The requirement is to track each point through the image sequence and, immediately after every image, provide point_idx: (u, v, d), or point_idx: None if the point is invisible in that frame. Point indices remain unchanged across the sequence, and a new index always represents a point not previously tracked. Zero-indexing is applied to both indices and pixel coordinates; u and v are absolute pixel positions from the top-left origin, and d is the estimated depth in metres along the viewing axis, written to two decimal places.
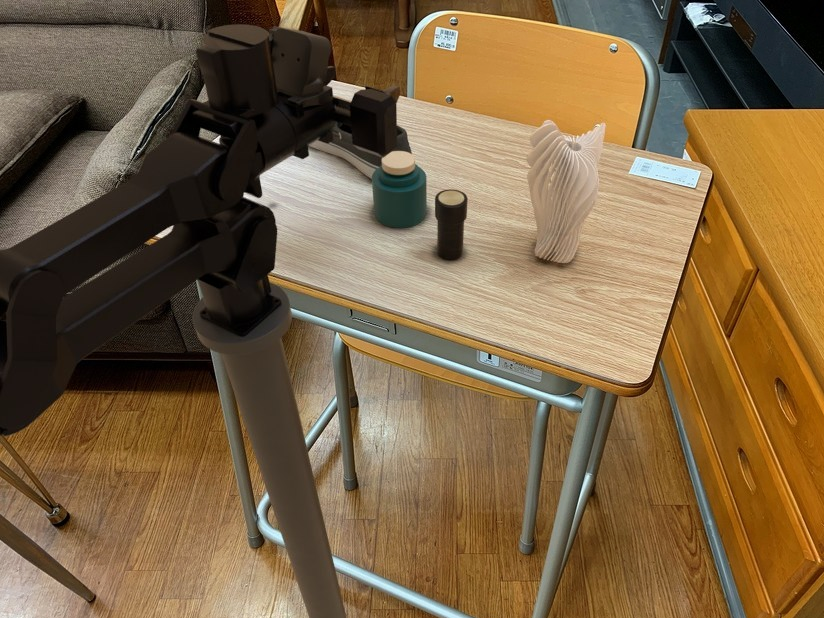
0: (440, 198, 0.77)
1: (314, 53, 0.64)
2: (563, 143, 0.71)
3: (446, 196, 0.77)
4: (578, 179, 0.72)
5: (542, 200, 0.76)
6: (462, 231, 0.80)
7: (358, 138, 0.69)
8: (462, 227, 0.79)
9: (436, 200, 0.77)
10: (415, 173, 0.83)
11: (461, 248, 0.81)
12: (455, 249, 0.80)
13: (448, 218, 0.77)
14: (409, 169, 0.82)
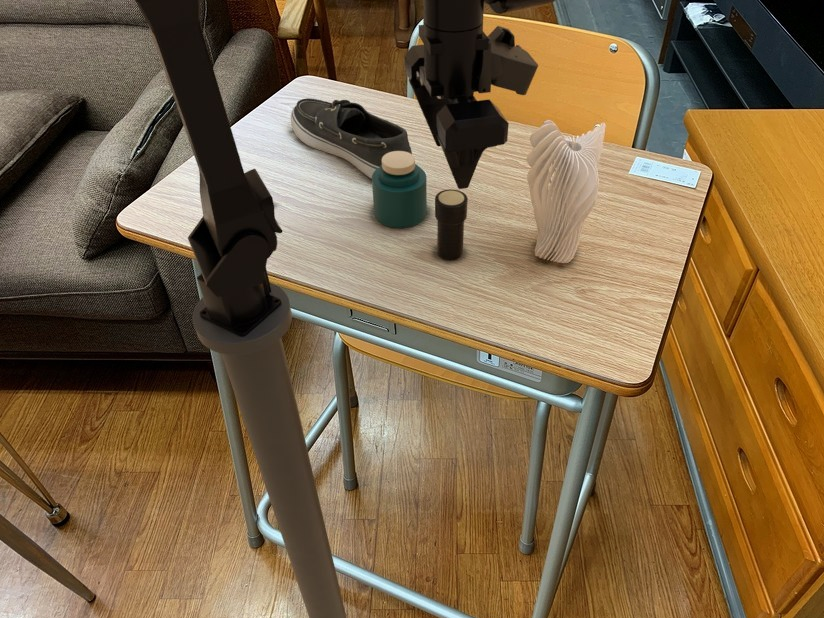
0: (440, 198, 0.77)
1: (526, 69, 0.66)
2: (563, 143, 0.71)
3: (446, 196, 0.77)
4: (578, 179, 0.72)
5: (542, 200, 0.76)
6: (462, 231, 0.80)
7: (457, 107, 0.62)
8: (462, 227, 0.79)
9: (436, 200, 0.77)
10: (415, 173, 0.83)
11: (461, 248, 0.81)
12: (455, 249, 0.80)
13: (448, 218, 0.77)
14: (409, 169, 0.82)
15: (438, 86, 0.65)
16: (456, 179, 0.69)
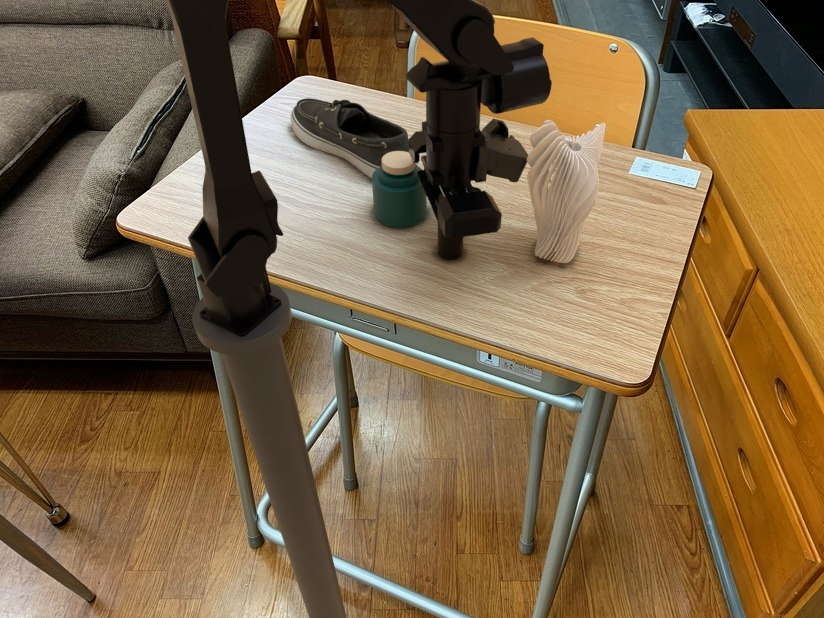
0: (440, 198, 0.77)
1: (518, 161, 0.73)
2: (563, 143, 0.71)
3: None
4: (578, 179, 0.72)
5: (542, 200, 0.76)
6: None
7: (456, 199, 0.70)
8: None
9: (436, 200, 0.77)
10: (415, 173, 0.83)
11: (461, 248, 0.81)
12: (455, 249, 0.80)
13: None
14: (409, 169, 0.82)
15: (439, 177, 0.72)
16: (448, 242, 0.78)
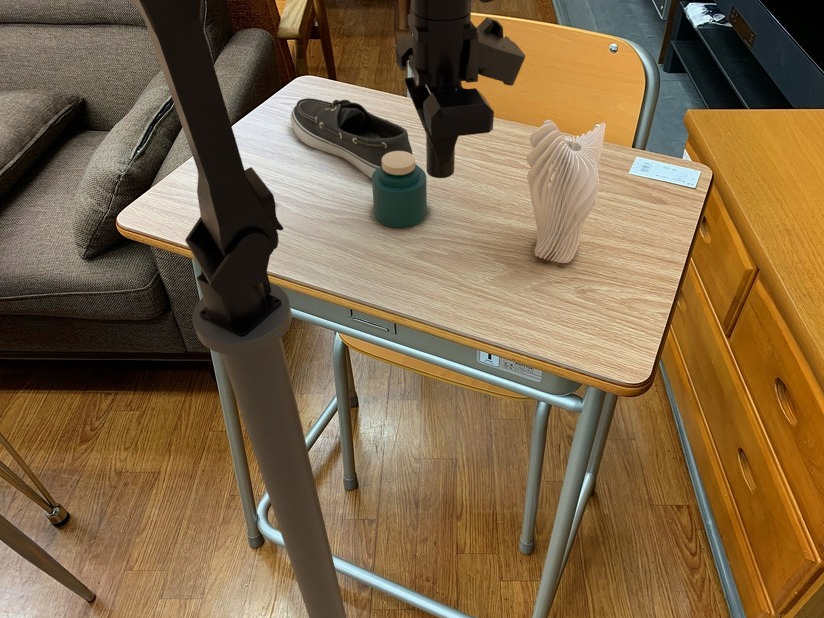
0: None
1: (513, 60, 0.67)
2: (563, 143, 0.71)
3: None
4: (578, 179, 0.72)
5: (542, 200, 0.76)
6: None
7: (444, 95, 0.63)
8: None
9: None
10: (415, 173, 0.83)
11: (452, 165, 0.75)
12: (445, 164, 0.74)
13: None
14: (409, 169, 0.82)
15: (426, 74, 0.66)
16: (437, 154, 0.72)
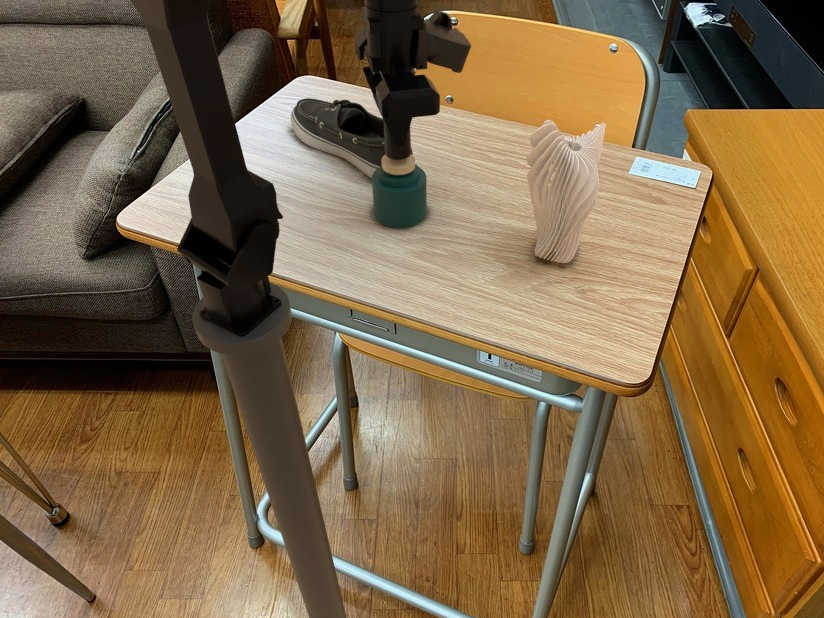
0: None
1: (459, 49, 0.73)
2: (563, 143, 0.71)
3: None
4: (578, 179, 0.72)
5: (542, 200, 0.76)
6: None
7: (394, 80, 0.69)
8: None
9: None
10: (415, 173, 0.83)
11: (408, 148, 0.81)
12: (401, 147, 0.80)
13: None
14: (409, 169, 0.82)
15: (379, 62, 0.71)
16: (393, 137, 0.78)
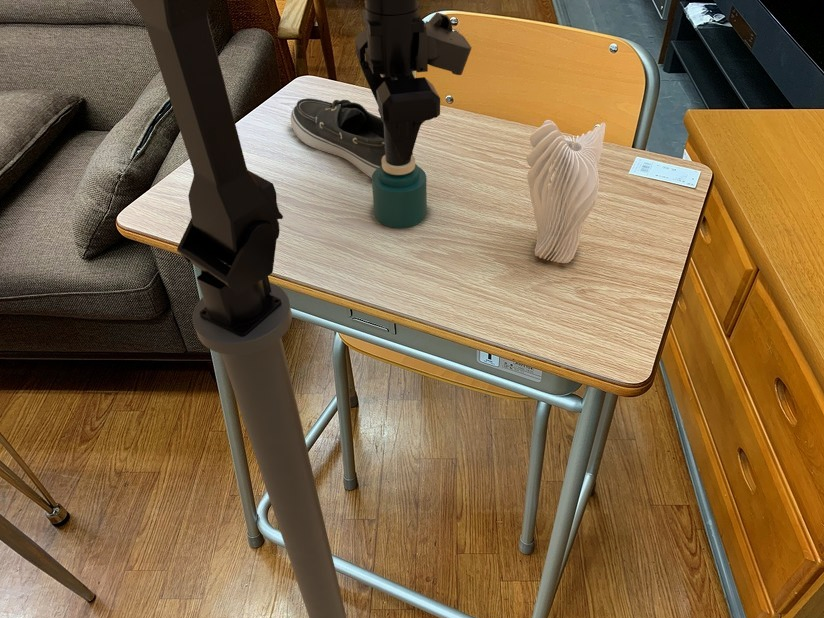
0: None
1: (460, 51, 0.73)
2: (563, 143, 0.71)
3: None
4: (578, 179, 0.72)
5: (542, 200, 0.76)
6: None
7: (394, 83, 0.69)
8: None
9: None
10: (415, 173, 0.83)
11: None
12: None
13: None
14: (409, 169, 0.82)
15: (379, 65, 0.72)
16: (398, 151, 0.76)
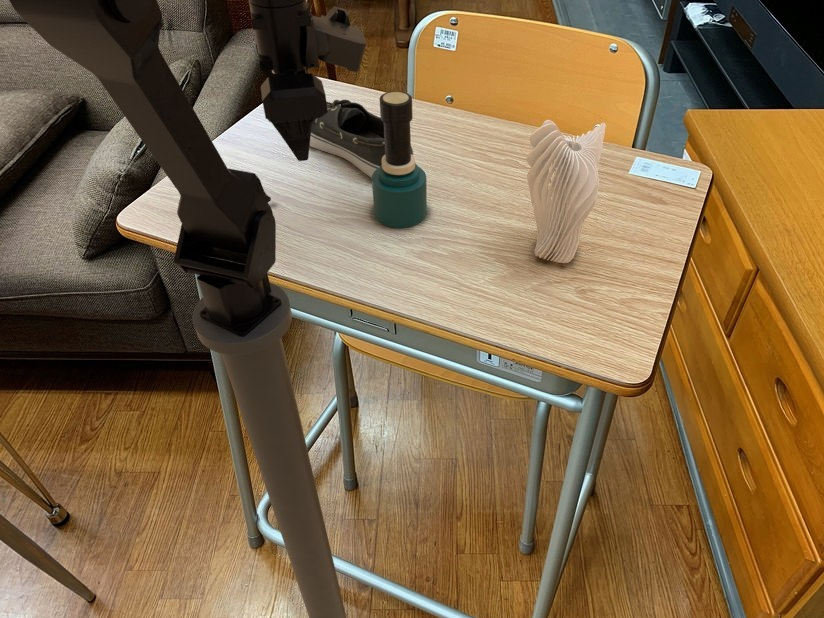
0: (384, 98, 0.77)
1: (353, 46, 0.69)
2: (563, 143, 0.71)
3: (391, 96, 0.77)
4: (578, 179, 0.72)
5: (542, 200, 0.76)
6: (408, 134, 0.80)
7: (278, 79, 0.66)
8: (408, 130, 0.79)
9: (380, 100, 0.77)
10: (415, 173, 0.83)
11: (408, 154, 0.81)
12: (402, 153, 0.81)
13: (392, 118, 0.77)
14: (409, 169, 0.82)
15: (266, 60, 0.68)
16: (293, 151, 0.73)
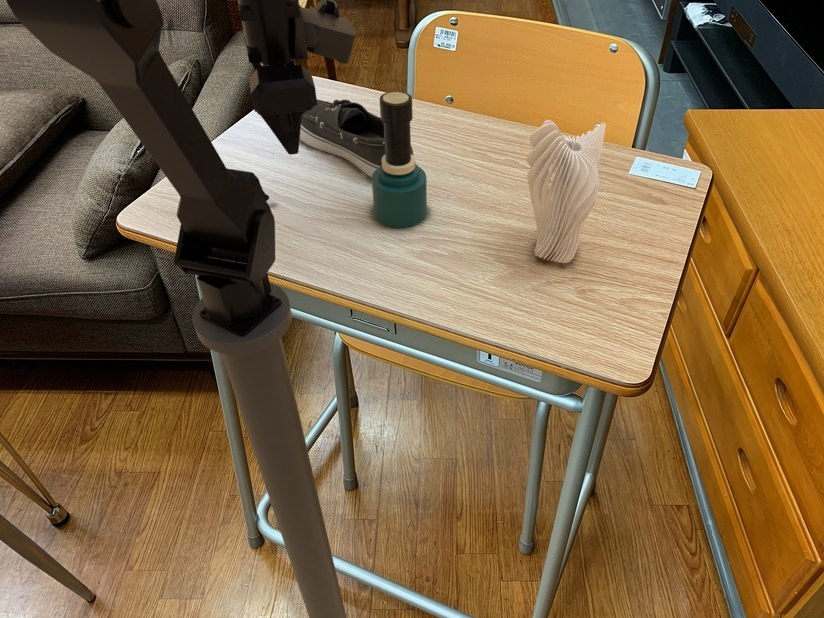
0: (384, 98, 0.77)
1: (342, 38, 0.69)
2: (563, 143, 0.71)
3: (391, 96, 0.77)
4: (578, 179, 0.72)
5: (542, 200, 0.76)
6: (408, 134, 0.80)
7: (267, 71, 0.65)
8: (408, 130, 0.79)
9: (380, 100, 0.77)
10: (415, 173, 0.83)
11: (408, 154, 0.81)
12: (402, 153, 0.81)
13: (392, 118, 0.77)
14: (409, 169, 0.82)
15: (255, 52, 0.67)
16: (283, 144, 0.72)
